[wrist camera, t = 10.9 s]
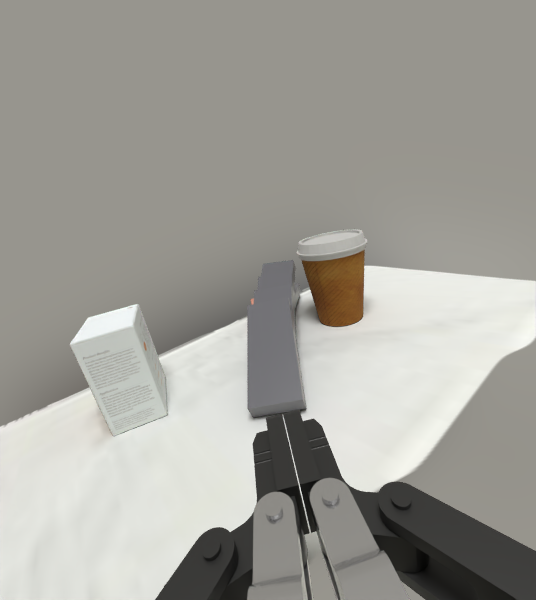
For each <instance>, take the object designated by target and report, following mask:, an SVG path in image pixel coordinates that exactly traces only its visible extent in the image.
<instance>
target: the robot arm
mask: <svg viewBox="0 0 536 600" xmlns="http://www.w3.org/2000/svg"><path fill="white" fill-rule="evenodd" d="M283 415H284V419H285V423H286V427H287V432H288V436H289V440H290V445H291V449H292V453H293V457H294V462H295V466H296V470H297V474H298V479H299V483H300V487H301V491H302V495H303V500H304V504H305V508H306V512H307V516H308V521H309V525H310V529H311V533H312V532H315V531H317V534H318V538H319V542H320V546H321V550H322V555H323V559H324V562H325V565H326V568H327V571H328V574H329V577H330V580H331V583H332V586H333V589H334V592H335V596H336V599H337V600H410V598H409V596H408V594H407V592H406V590H405V588H404V587H403V585H402V582H403V583H405V584H406V585H407V586H409V587H410V588H411V589H412V590H414V591H415V592H416V593H418V594H419V595H420V596H422V597H423V598H424V599H425V600H536V551H534V550H532V549H531V548H528V547H527V546H525V545H523V544H521V543H519V542H517V541H515V540H513V539H512V538H510V537H508V536H506V535H504V534H502V533H500V532H498V531H496V530H494V529H492V528H490V527H489V526H487V525H485V524H483V523H481V522H479V521H477V520H475V519H474V518H472V517H470V516H468V515H466V514H464V513H462V512H460V511H458V510H456V509H454V508H453V507H451V506H449V505H447V504H445V503H443V502H441V501H439V500H437V499H435V498H434V497H432V496H430V495H428V494H426V493H424V492H422V491H420V490H418V489H416V488H415V487H412V486H411V485H409V484H406V483H403V482H390V483H387V484H385V485H384V486H383V487H382V488H381V489H380V491H379V493H374V492H363V491H359V490H356V489H354V488H352V487H350V486H349V485H348V484H347V483H346V482H345V481H344V479H343V478H342V476H341V474H340V471H339V469H338V466H337V463H336V461H335V458H334V456H333V453H332V451H331V448H330V446H329V443H328V441H327V438H326V436H325V433H324V431H323V428H322V426H321V425H320V424H319V423H318V422H317V421H316V420H315V419H310V420H306V421H302V418H301V414H300V411H299V410H295V411H291V412H287V413H283ZM266 422H267V428H268V430H267V431H263V432H259V433H257V434H256V437H255V439H254V442H253V452H254V463H255V478H256V490H257V504H256V507H255V509H254V512H253V514H252V516H251V517H250V518H249V519H248V520H247V521H246V522H245V523H244V524H242V525H241V526H239V527H238V528H236V529H235V530H233V531H232V532H229V531H228V530H227V529H224V528H220V527H218V528H212V529H210V530H208V531H206V532H205V533H203V534H202V535H201V536H200V537H199V538H198V540H197V541H196V542H195V544H194V545H193V547H192V548H191V549H190V551H189V552H188V554H187V555H186V557H185V558H184V559H183V561H182V562H181V564H180V565H179V567H178V568H177V569H176V571H175V572H174V574H173V575H172V576H171V578H170V579H169V581H168V582H167V584H166V585H165V586H164V588H163V589H162V591H161V592H160V594H159V595H158V596H157V598H156V599H155V600H313V593H312V585H311V578H310V571H309V564H308V559H307V557H308V552H307V546H306V542H305V537H304V535H305V534H309V529H308V524H307V520H306V516H305V511H304V507H303V503H302V498H301V494H300V489H299V485H298V481H297V476H296V472H295V468H294V463H293V459H292V455H291V450H290V446H289V442H288V438H287V433H286V429H285V425H284V421H283V417H282V414H279V415H275V416H271V417H267V418H266ZM400 580H401V581H402V582H401V581H400Z"/></svg>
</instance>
